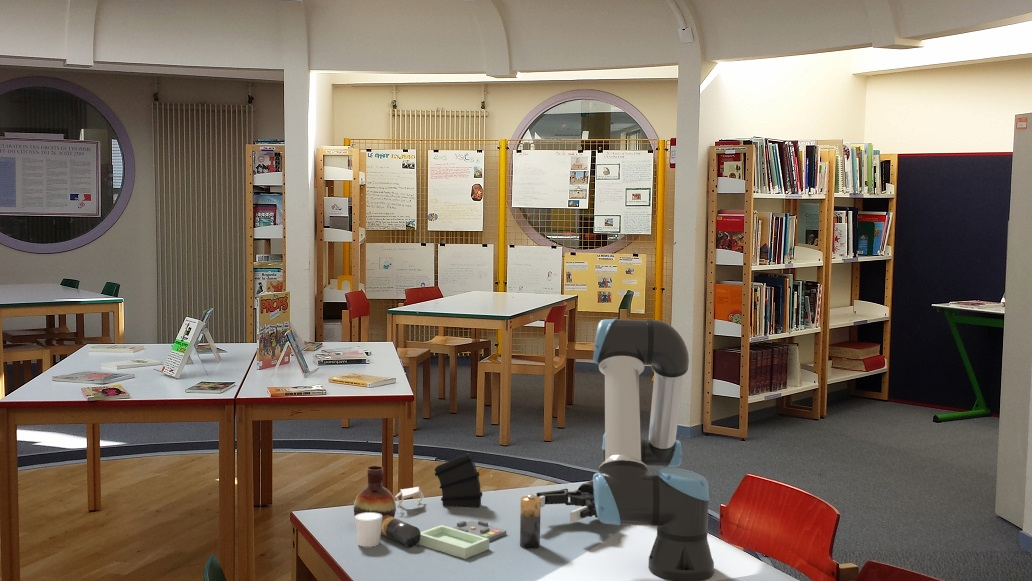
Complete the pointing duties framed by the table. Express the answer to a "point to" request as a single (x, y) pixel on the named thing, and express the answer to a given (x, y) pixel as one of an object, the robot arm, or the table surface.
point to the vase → (375, 495)
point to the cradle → (480, 529)
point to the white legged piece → (409, 495)
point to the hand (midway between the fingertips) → (549, 511)
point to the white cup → (368, 528)
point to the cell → (530, 522)
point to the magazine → (460, 482)
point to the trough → (453, 541)
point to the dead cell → (400, 531)
